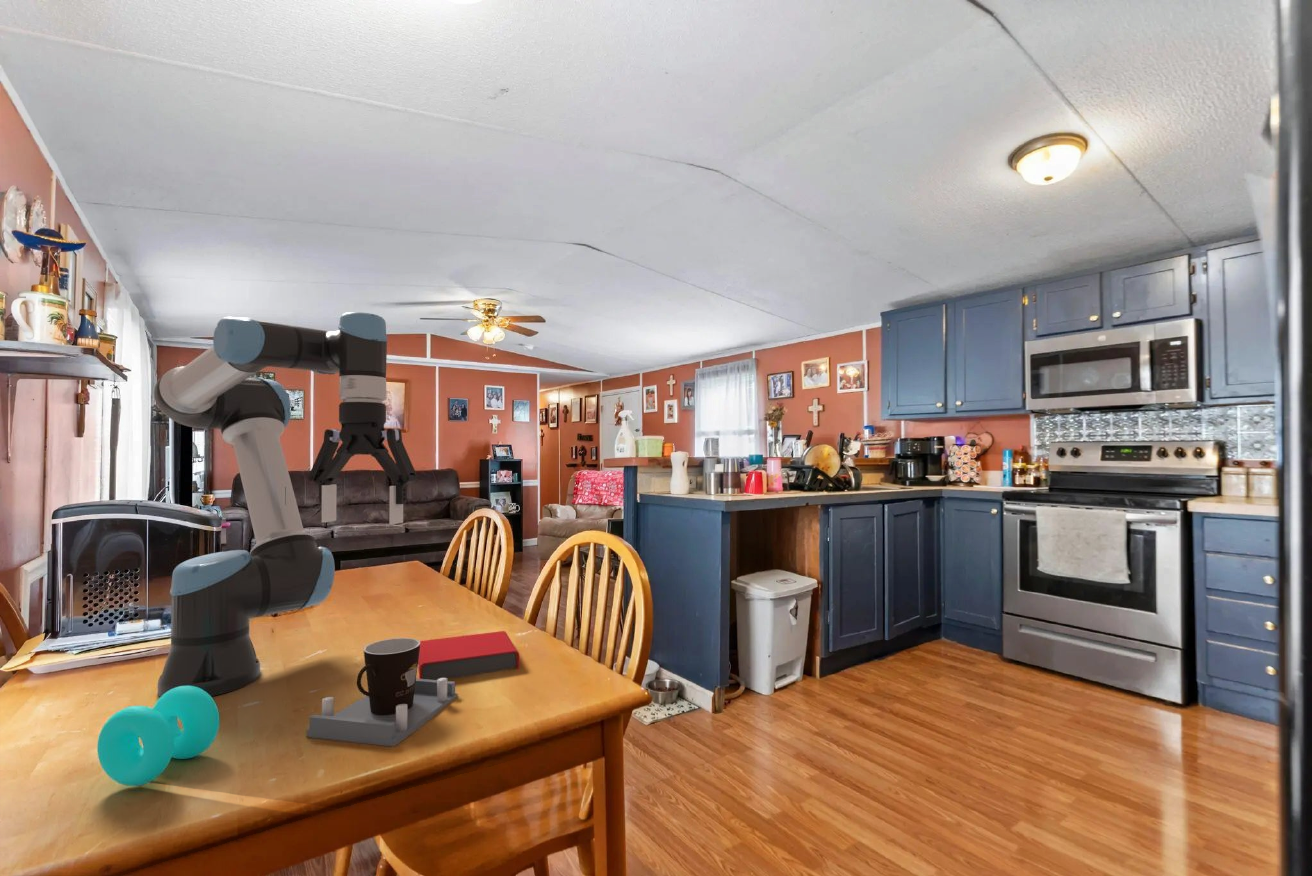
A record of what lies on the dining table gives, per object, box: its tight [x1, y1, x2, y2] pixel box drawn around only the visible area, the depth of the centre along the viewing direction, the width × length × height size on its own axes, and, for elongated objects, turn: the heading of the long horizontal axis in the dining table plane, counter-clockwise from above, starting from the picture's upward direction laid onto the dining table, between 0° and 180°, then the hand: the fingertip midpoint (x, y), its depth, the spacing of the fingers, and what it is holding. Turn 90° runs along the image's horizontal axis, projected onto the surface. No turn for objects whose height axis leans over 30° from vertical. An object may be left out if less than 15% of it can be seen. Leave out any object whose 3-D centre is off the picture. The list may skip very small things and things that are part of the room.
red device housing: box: [417, 630, 520, 680], centre depth 121 cm, size 18×14×5 cm
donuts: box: [96, 686, 220, 787], centre depth 83 cm, size 10×10×10 cm
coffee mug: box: [356, 637, 421, 715], centre depth 100 cm, size 12×9×10 cm
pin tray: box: [305, 677, 459, 748], centre depth 100 cm, size 15×17×4 cm
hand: (362, 522), depth 108 cm, fingers open, 13 cm apart
